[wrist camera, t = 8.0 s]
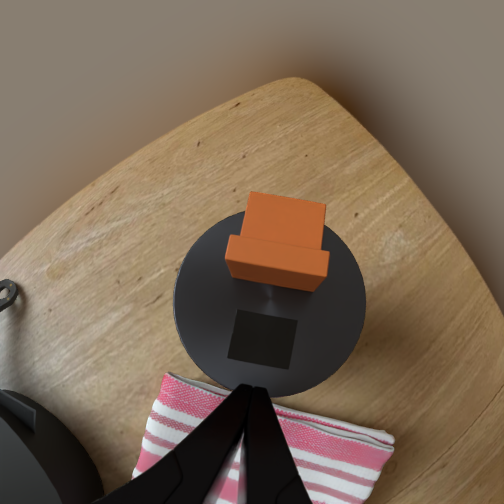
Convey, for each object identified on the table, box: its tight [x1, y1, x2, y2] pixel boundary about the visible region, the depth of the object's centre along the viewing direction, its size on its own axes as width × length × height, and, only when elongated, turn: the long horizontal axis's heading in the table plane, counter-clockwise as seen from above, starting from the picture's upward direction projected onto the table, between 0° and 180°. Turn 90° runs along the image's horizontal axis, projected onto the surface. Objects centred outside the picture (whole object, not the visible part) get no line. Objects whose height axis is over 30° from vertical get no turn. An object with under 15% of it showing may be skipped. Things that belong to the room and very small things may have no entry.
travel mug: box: [173, 211, 366, 398], centre depth 16 cm, size 7×7×11 cm
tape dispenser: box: [0, 389, 103, 504], centre depth 14 cm, size 14×18×8 cm
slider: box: [225, 191, 330, 292], centre depth 10 cm, size 3×3×2 cm
